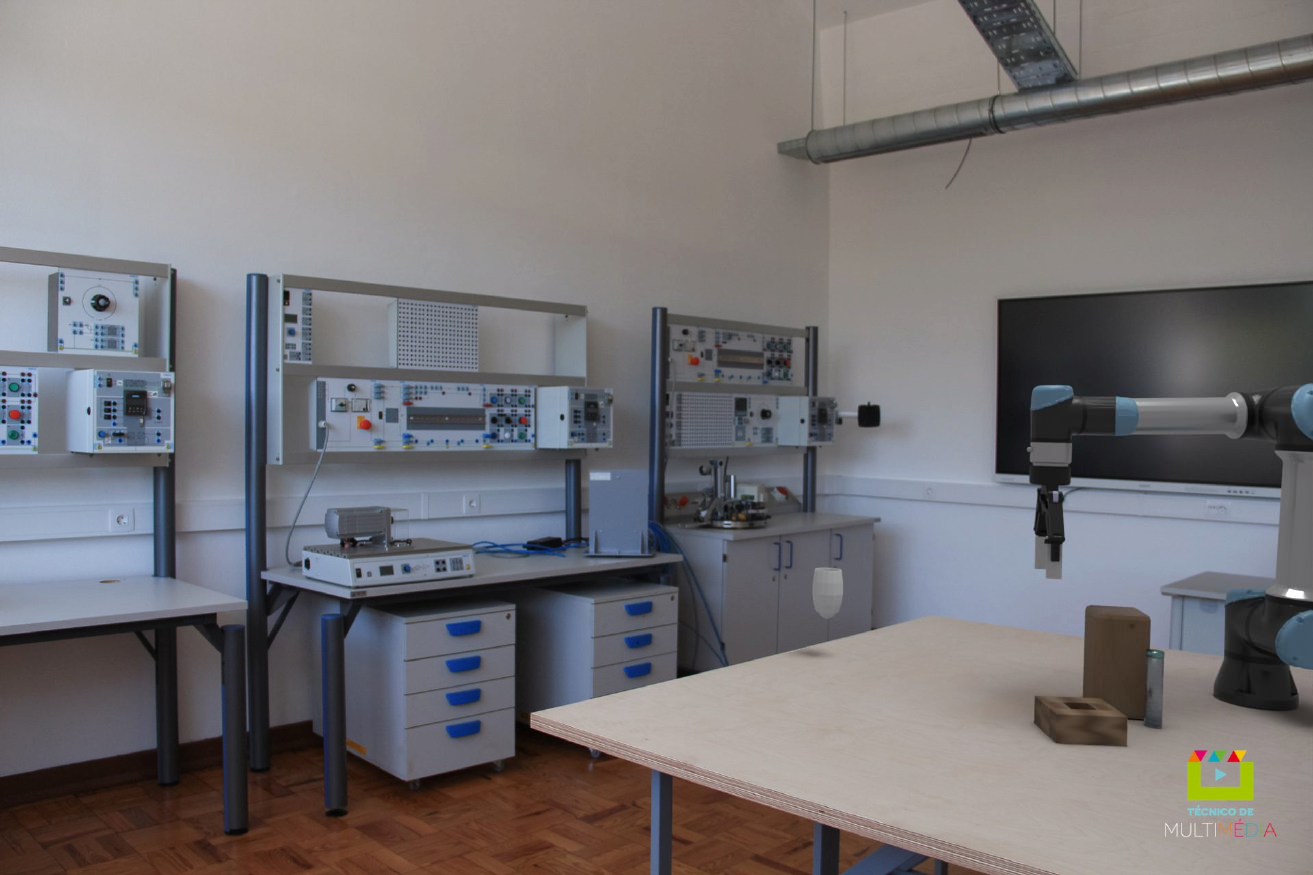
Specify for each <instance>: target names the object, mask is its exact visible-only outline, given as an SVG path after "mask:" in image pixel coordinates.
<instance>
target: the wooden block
mask: <svg viewBox="0 0 1313 875" xmlns="http://www.w3.org/2000/svg"><path fill="white" fill-rule="evenodd" d="M1084 611H1085V612H1084V635H1083V636H1084V639H1083V640H1084V641H1083V673H1082V675H1083V676H1082V679H1083V680H1082V681H1083V682H1082V684H1083V685H1082V698H1101V699H1102V700H1104V701H1105V702H1107V703H1108V704H1109V705H1111V706H1112V707H1114V708H1115V709H1117V710H1118V711H1120V712H1121V713H1122V714H1124V715H1125V716H1127V717H1128V720H1129V719H1131V720H1132V719H1133V720H1144V706H1145V671H1146V649H1151V626H1152V624H1151V623H1152V620H1151V618H1150V616H1149V615H1148V614H1146V613H1145V612H1143V611H1142V610H1140V609H1138V608H1136V607H1133V606H1131V607H1130V606H1118V605H1117V606H1116V605H1115V606H1114V605H1100V604H1099V605H1096V604H1089V605H1087V606H1086V607H1085V609H1084Z"/></svg>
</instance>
